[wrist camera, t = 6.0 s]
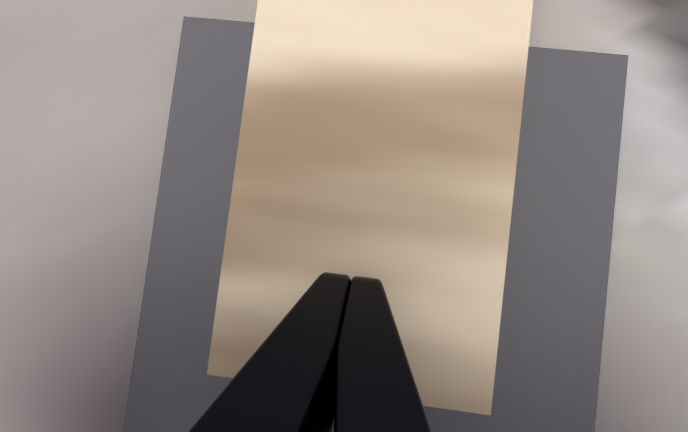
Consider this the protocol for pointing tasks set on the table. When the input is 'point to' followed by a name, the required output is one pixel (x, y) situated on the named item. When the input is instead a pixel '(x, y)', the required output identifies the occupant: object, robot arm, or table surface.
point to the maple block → (380, 176)
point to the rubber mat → (522, 257)
